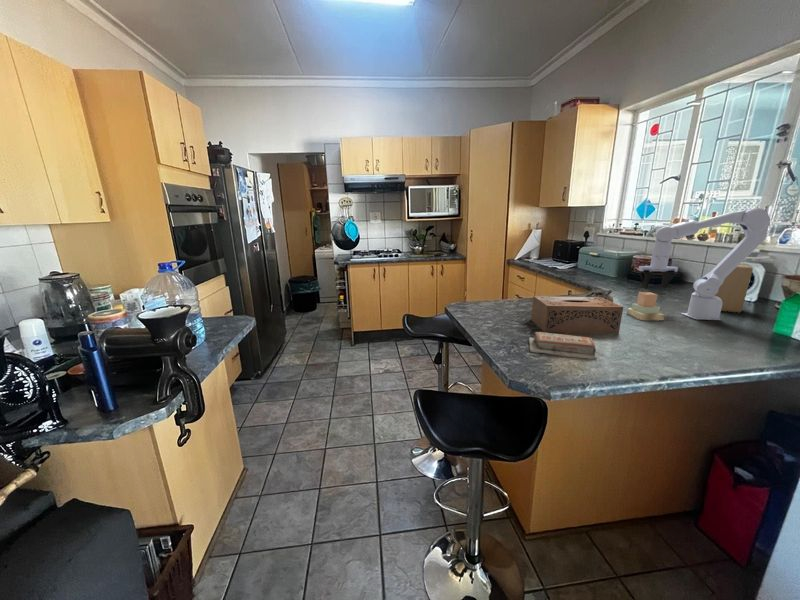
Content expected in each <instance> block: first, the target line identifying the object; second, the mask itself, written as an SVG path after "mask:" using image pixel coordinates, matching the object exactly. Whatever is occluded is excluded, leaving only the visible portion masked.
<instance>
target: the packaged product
mask: <svg viewBox="0 0 800 600" xmlns="http://www.w3.org/2000/svg"><path fill="white" fill-rule="evenodd" d="M528 340H529V341H528V342H529V352H531V353H538V354H539V353H540V354H547V355H556V356H563V357H569V358H578V359H579V358H580V359H588V360H597V359H598V357H597V355H596V352H597V348H596V343H595V342H594V341H593V339H592V337H588V336H578V335H571V334H564V333H563V334H560V333H554V332H544V331H536V332H534V335H533V337H530V336H529V338H528Z"/></svg>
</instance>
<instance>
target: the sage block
mask: <svg viewBox="0 0 800 600" xmlns="http://www.w3.org/2000/svg"><path fill="white" fill-rule="evenodd" d="M631 308H632V310H635V311H638V312H641V313H644V314H651V313H660V312H661V311H660V310H661V307H660V306H657V305H655V307H644V306H641V305H639V304H637V302H636V303H632V304H631Z"/></svg>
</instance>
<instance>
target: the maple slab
mask: <svg viewBox="0 0 800 600" xmlns="http://www.w3.org/2000/svg"><path fill="white" fill-rule="evenodd" d="M628 314H629V315H628ZM626 315H628V316H630V315H631V316H630V317H633V318H634V319H637V320H639V321H659V320H664V321H665V316H666V314H664V313H662V312H659V313H651V314H644V313H641V312H638V311H635V310H632V307H628V308H627V309H626Z"/></svg>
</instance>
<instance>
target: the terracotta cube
mask: <svg viewBox="0 0 800 600" xmlns="http://www.w3.org/2000/svg"><path fill="white" fill-rule="evenodd" d="M657 299H658V294H657V293H653V292H651V291H638V295H637V300H636V303H637V304H639V305H641V306H644V307H655V306H657Z"/></svg>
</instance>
